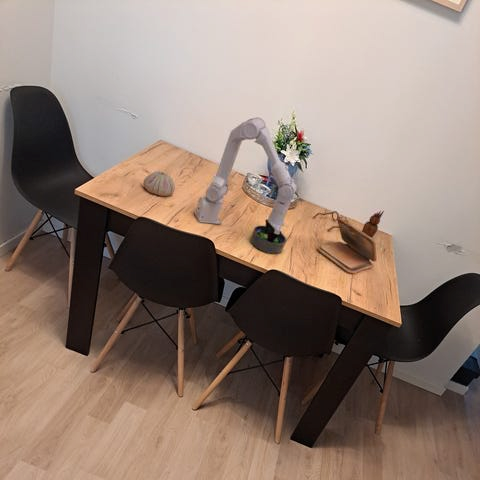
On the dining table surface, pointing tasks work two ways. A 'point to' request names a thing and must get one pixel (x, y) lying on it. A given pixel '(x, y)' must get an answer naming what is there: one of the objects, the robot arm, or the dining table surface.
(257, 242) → the bowl
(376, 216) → the wooden figurine
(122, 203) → the dining table surface
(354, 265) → the case
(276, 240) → the green box
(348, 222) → the glasses
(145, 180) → the sea urchin shell
